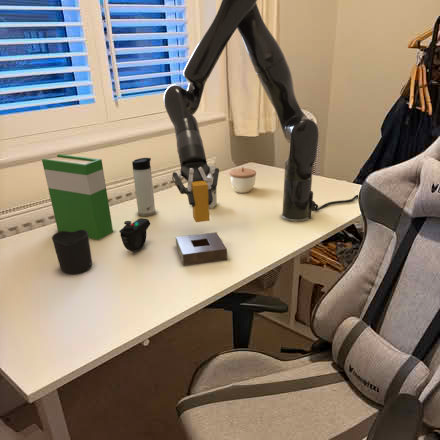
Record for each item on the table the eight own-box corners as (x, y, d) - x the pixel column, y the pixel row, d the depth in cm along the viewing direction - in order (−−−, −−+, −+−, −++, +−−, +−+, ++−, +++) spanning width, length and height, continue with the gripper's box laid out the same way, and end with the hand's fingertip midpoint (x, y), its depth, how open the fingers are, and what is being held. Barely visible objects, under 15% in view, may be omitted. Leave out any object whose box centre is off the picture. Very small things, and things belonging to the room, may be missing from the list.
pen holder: (75, 278, 121) (68, 245, 116) (52, 270, 125) (44, 238, 120) (100, 264, 128) (94, 232, 122) (77, 257, 132) (71, 226, 127)
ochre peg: (206, 215, 130) (204, 180, 124) (209, 220, 126) (207, 184, 121) (193, 217, 129) (190, 181, 123) (195, 222, 125) (193, 186, 120)
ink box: (191, 206, 168) (189, 167, 161) (196, 202, 172) (194, 164, 165) (212, 208, 166) (211, 169, 158) (217, 204, 170) (216, 165, 162)
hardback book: (58, 231, 150) (41, 159, 138) (73, 223, 156) (59, 154, 143) (98, 240, 143) (84, 165, 131) (113, 231, 149) (101, 159, 136)
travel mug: (153, 216, 160) (147, 160, 149) (135, 216, 161) (128, 160, 151) (158, 210, 165) (153, 156, 155) (141, 210, 166) (135, 155, 156)
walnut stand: (216, 242, 139) (216, 232, 137) (227, 259, 128) (226, 248, 127) (176, 247, 137) (175, 236, 135) (183, 265, 126) (182, 254, 124)
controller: (120, 255, 133) (115, 224, 127) (142, 240, 142) (139, 210, 137) (132, 258, 131) (128, 226, 126) (154, 241, 141) (151, 211, 136)
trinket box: (231, 186, 189) (231, 164, 184) (256, 186, 187) (257, 164, 182) (228, 194, 180) (228, 171, 175) (254, 194, 178) (255, 171, 173)
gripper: (166, 145, 122) (177, 201, 118) (216, 140, 125) (228, 195, 121) (165, 159, 129) (175, 213, 125) (213, 155, 132) (224, 207, 128)
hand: (201, 204), depth 123 cm, fingers closed on ochre peg, 4 cm apart
